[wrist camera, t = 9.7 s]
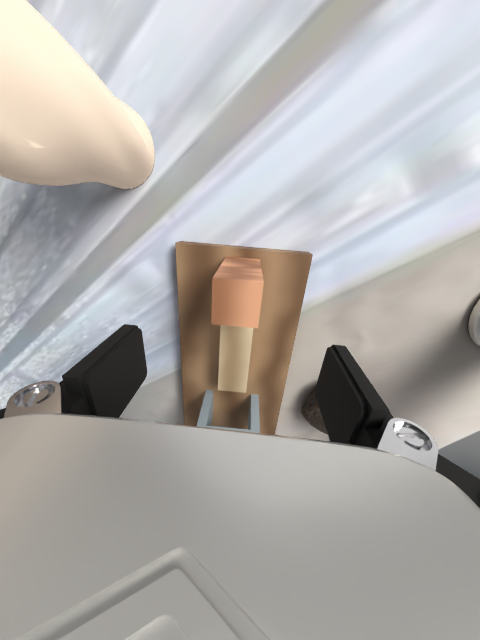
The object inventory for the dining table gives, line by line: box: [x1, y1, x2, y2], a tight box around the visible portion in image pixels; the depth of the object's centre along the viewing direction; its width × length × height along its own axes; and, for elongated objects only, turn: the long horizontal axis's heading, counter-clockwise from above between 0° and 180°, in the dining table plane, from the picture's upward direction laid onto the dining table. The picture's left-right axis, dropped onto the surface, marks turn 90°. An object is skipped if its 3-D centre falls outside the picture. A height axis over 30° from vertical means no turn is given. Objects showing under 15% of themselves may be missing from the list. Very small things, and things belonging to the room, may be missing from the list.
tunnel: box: [197, 390, 260, 433], centre depth 33 cm, size 8×6×8 cm
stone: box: [301, 391, 328, 434], centre depth 36 cm, size 10×8×10 cm
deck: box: [175, 241, 312, 435], centre depth 35 cm, size 16×39×2 cm, turn 176°
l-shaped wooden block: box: [211, 256, 264, 393], centre depth 25 cm, size 4×18×10 cm, turn 176°
